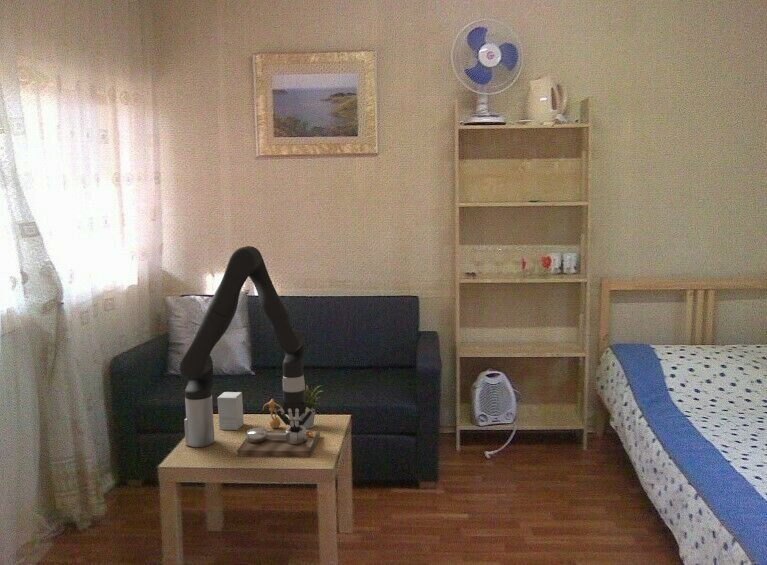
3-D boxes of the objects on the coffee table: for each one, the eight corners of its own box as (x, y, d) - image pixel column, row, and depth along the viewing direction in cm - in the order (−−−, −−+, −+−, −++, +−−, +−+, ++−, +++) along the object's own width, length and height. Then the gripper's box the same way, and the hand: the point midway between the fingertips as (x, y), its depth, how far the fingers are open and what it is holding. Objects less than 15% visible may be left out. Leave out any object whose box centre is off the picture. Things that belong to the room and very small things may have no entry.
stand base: (237, 455, 241) (236, 446, 240) (252, 435, 259) (251, 427, 259) (310, 456, 239) (309, 447, 238) (319, 436, 257) (319, 427, 257)
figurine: (287, 426, 268) (286, 396, 267) (282, 432, 263) (281, 400, 261) (266, 425, 270) (265, 395, 268) (261, 431, 264) (259, 400, 262)
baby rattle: (244, 442, 246) (243, 431, 246) (250, 435, 253) (250, 424, 253) (311, 444, 243) (310, 433, 243) (315, 437, 250) (315, 426, 250)
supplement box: (244, 423, 273) (242, 391, 271) (237, 430, 266) (235, 397, 264) (226, 423, 274) (224, 391, 272) (218, 429, 267) (216, 397, 265)
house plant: (334, 421, 273) (332, 380, 271) (321, 434, 260) (320, 391, 257) (299, 419, 277) (298, 378, 274) (285, 431, 264) (283, 388, 261)
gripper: (272, 391, 241) (274, 439, 244) (310, 391, 240) (312, 440, 243) (277, 384, 249) (279, 432, 251) (314, 384, 248) (316, 432, 250)
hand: (295, 436), depth 247 cm, fingers closed
